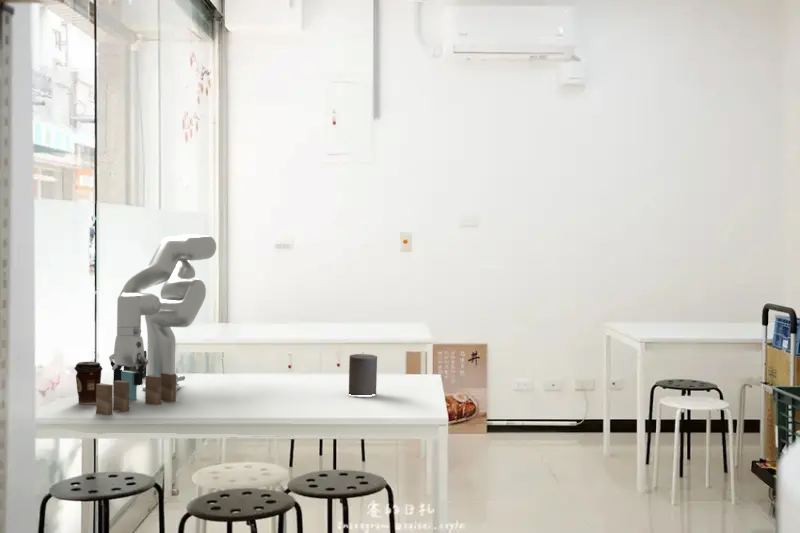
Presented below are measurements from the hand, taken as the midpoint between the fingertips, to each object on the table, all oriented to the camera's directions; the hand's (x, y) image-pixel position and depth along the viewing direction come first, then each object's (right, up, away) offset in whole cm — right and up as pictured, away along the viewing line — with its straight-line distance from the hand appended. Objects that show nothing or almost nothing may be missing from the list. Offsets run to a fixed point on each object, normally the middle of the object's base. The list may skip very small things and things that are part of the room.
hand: (127, 383), depth 295 cm
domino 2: (0, -5, +1) cm, 5 cm away
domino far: (0, -6, -24) cm, 25 cm away
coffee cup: (-11, -6, -7) cm, 14 cm away
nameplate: (-8, -4, +37) cm, 38 cm away
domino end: (+14, -5, -2) cm, 15 cm away
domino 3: (+10, -6, -7) cm, 14 cm away
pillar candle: (+77, -6, +13) cm, 78 cm away
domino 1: (+4, -6, -18) cm, 20 cm away
